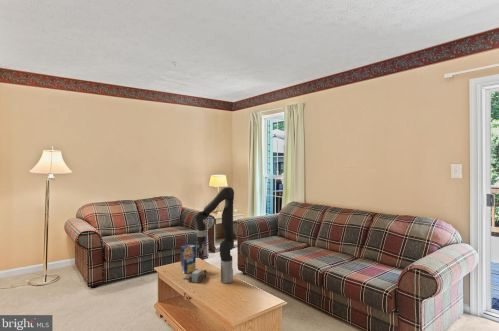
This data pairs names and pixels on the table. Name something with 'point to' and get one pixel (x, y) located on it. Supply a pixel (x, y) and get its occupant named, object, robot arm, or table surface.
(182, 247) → the beverage box
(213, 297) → the table surface
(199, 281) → the rack
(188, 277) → the pad
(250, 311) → the table surface
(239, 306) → the table surface
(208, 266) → the table surface
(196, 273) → the block
